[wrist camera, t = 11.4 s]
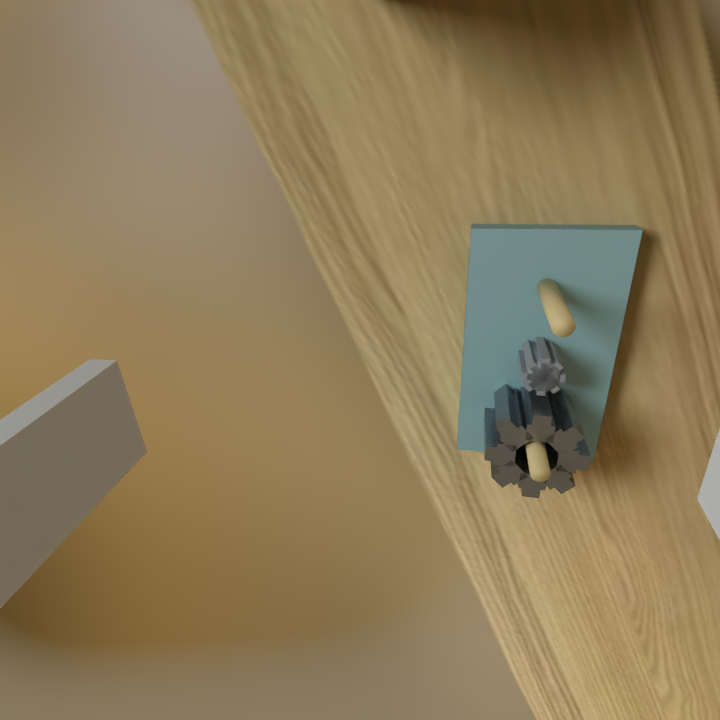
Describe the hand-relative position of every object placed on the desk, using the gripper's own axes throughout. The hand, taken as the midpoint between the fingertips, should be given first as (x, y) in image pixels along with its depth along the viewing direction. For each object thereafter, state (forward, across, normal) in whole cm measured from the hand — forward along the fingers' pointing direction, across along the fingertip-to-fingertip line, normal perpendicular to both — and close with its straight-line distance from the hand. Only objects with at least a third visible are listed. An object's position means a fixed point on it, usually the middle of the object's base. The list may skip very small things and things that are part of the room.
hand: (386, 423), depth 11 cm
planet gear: (+23, +6, -15) cm, 28 cm away
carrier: (+25, +6, -10) cm, 27 cm away
